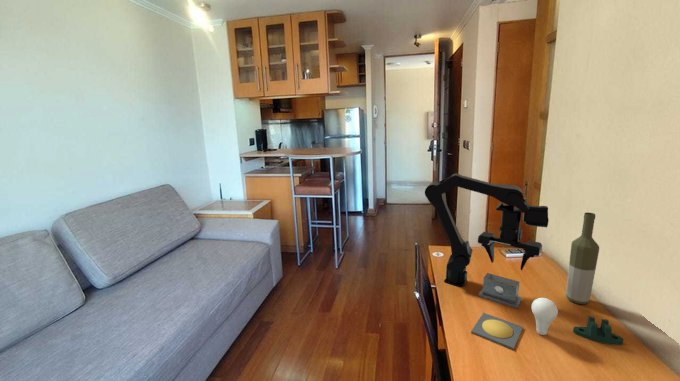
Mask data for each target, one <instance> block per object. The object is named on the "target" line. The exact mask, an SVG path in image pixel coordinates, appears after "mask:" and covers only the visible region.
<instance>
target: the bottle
mask: <svg viewBox="0 0 680 381" xmlns="http://www.w3.org/2000/svg"><path fill="white" fill-rule="evenodd" d="M595 220H596V213H593V212H589V211H588V212H584V214H583V221H582V222H583V224H582V229H581V230H582V231H581V235H580V236H579V237H577V238H576V239H574V240H573V241H572V242H571V246H570V254H569V262H568V271H567V280H566V288H565V296H566V298H567V300H568V301H570V302H573V303H575V304H578V305H579V304H580V305H586V304H588V303H589V302H590V300H591V296H592V290H593V285H594V279H595V275H596V269H597V264H598V259H599V254H600V253H599V252H600V245H599V244H598V243H597V242H596V240H595V239H594V238H593V232H594V226H595V225H594V224H595Z"/></svg>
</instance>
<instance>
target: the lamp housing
mask: <svg viewBox="0 0 680 381" xmlns="http://www.w3.org/2000/svg"><path fill="white" fill-rule="evenodd" d="M519 290H520V281H519V280H515V279H512V278H511V279H510V278H507V277H505V276H500V275H496V274H493V273H489V272H487V273H486V274H485V276H484V277H483V284H482V288H481V290H480V291H479V293H478V297H480V298H483V299H486V300H490V301H492V302H495V303H499V304H502V305H505V306H508V307H510V308H514V309H518V308H519V306H520V305H521V303H522V300H523V298H522V297H521V296H519V292H520V291H519Z"/></svg>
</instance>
